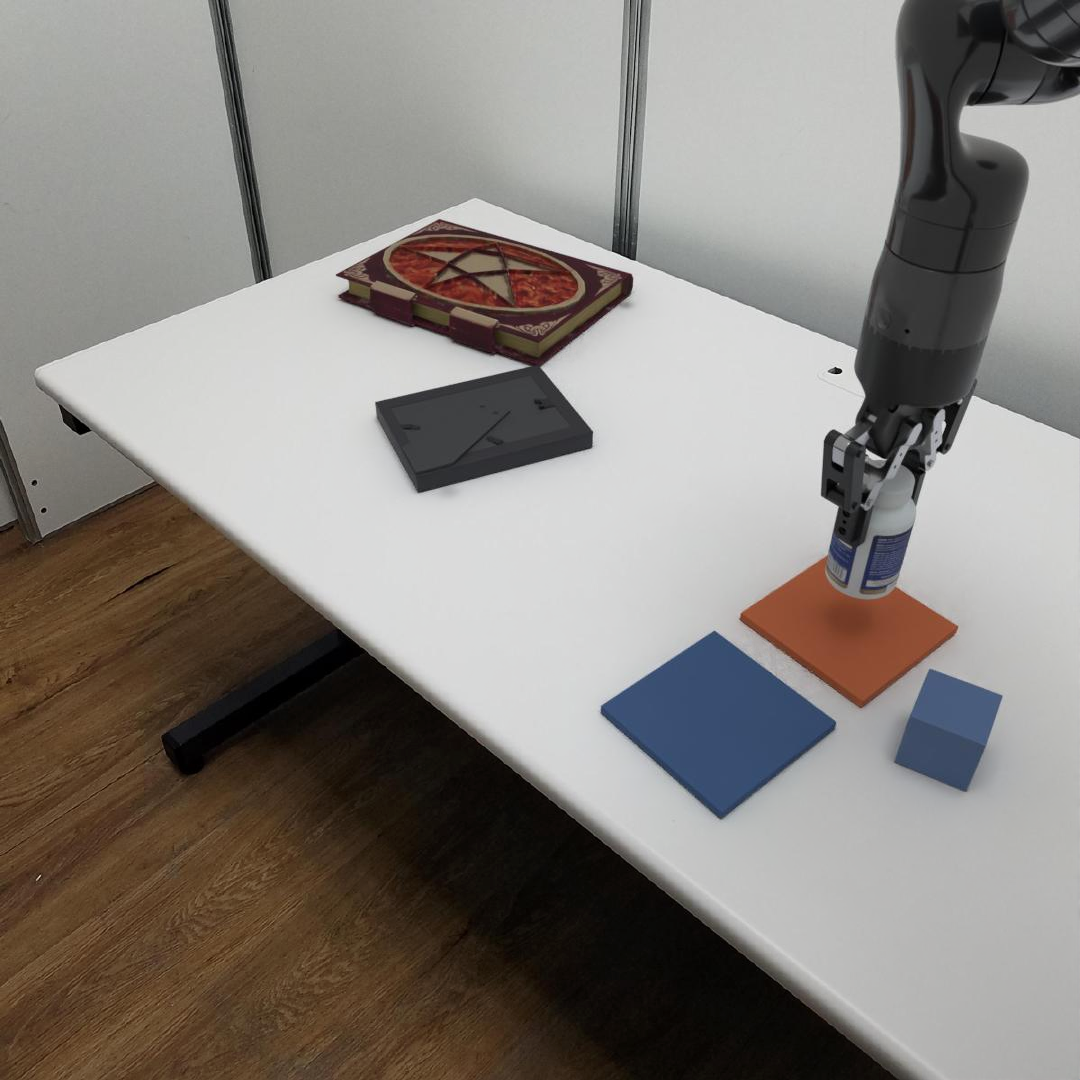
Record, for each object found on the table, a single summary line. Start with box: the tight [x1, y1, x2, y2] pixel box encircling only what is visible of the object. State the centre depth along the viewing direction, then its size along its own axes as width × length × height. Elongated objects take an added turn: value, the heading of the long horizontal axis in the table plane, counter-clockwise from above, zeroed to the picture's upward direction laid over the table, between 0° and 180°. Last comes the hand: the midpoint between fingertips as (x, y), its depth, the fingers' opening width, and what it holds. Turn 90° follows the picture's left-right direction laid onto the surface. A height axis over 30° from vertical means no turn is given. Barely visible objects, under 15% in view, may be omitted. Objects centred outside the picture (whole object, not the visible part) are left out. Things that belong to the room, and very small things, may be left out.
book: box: [335, 218, 634, 366], centre depth 125 cm, size 28×21×5 cm
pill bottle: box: [825, 459, 917, 599], centre depth 78 cm, size 5×5×10 cm
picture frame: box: [374, 365, 594, 493], centre depth 104 cm, size 13×2×18 cm
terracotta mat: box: [739, 554, 959, 709], centre depth 84 cm, size 12×12×1 cm
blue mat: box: [600, 630, 838, 820], centre depth 77 cm, size 12×12×1 cm
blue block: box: [893, 668, 1003, 792], centre depth 74 cm, size 5×5×5 cm
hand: (874, 522), depth 77 cm, fingers closed on pill bottle, 5 cm apart
